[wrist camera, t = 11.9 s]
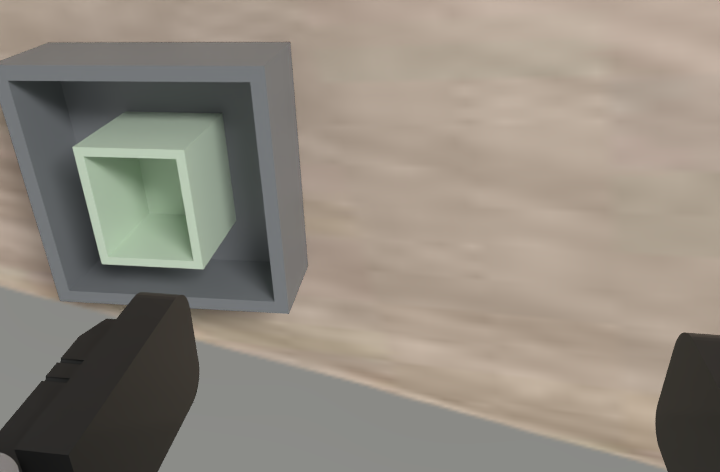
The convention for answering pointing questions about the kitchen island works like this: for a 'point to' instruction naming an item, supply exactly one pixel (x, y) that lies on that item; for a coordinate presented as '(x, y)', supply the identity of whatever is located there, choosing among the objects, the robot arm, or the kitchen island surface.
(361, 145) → the kitchen island surface
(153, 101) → the charcoal crate
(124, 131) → the sage crate
